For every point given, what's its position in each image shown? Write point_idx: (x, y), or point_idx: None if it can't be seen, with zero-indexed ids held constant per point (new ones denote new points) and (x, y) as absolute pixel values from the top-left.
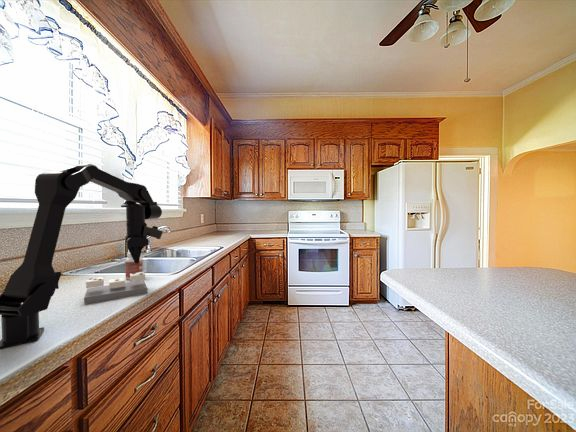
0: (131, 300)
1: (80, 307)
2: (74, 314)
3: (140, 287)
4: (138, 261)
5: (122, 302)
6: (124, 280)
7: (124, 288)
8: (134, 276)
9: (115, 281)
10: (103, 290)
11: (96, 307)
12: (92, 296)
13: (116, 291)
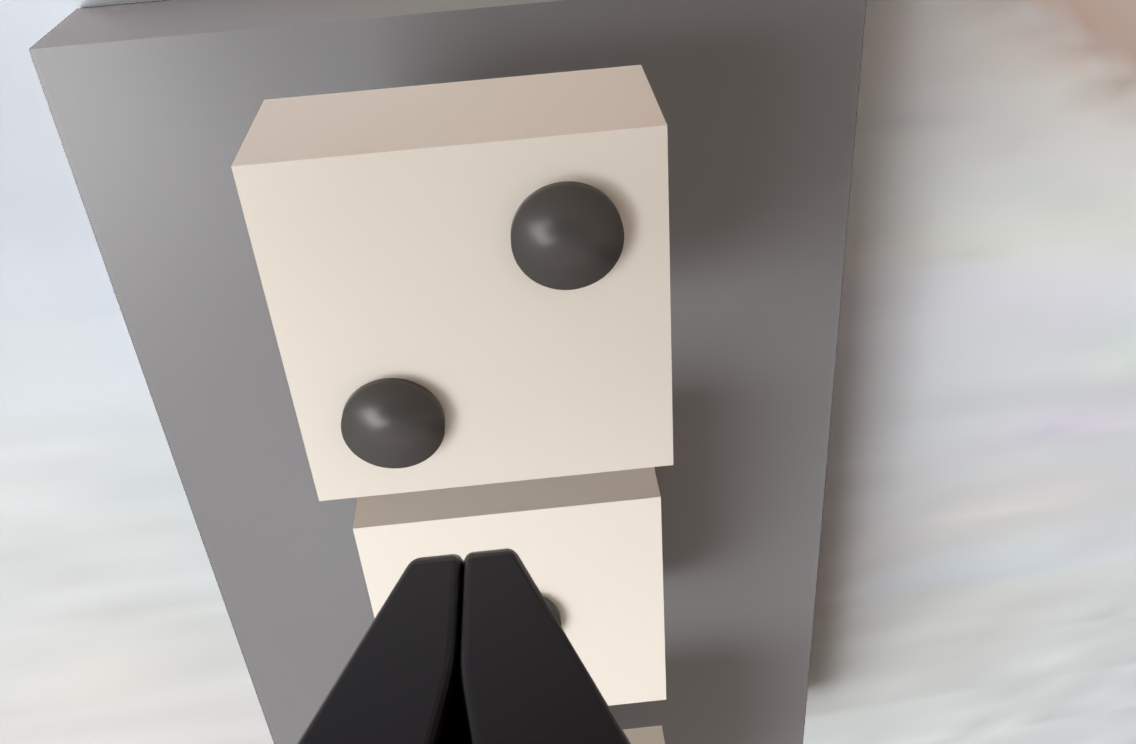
0: (1079, 210)
1: (883, 703)
2: (1098, 701)
3: (762, 121)
4: (542, 600)
5: (1072, 326)
6: (643, 507)
7: None
8: (664, 373)
9: (619, 633)
10: None
11: (1025, 574)
12: (801, 709)
13: (758, 492)
